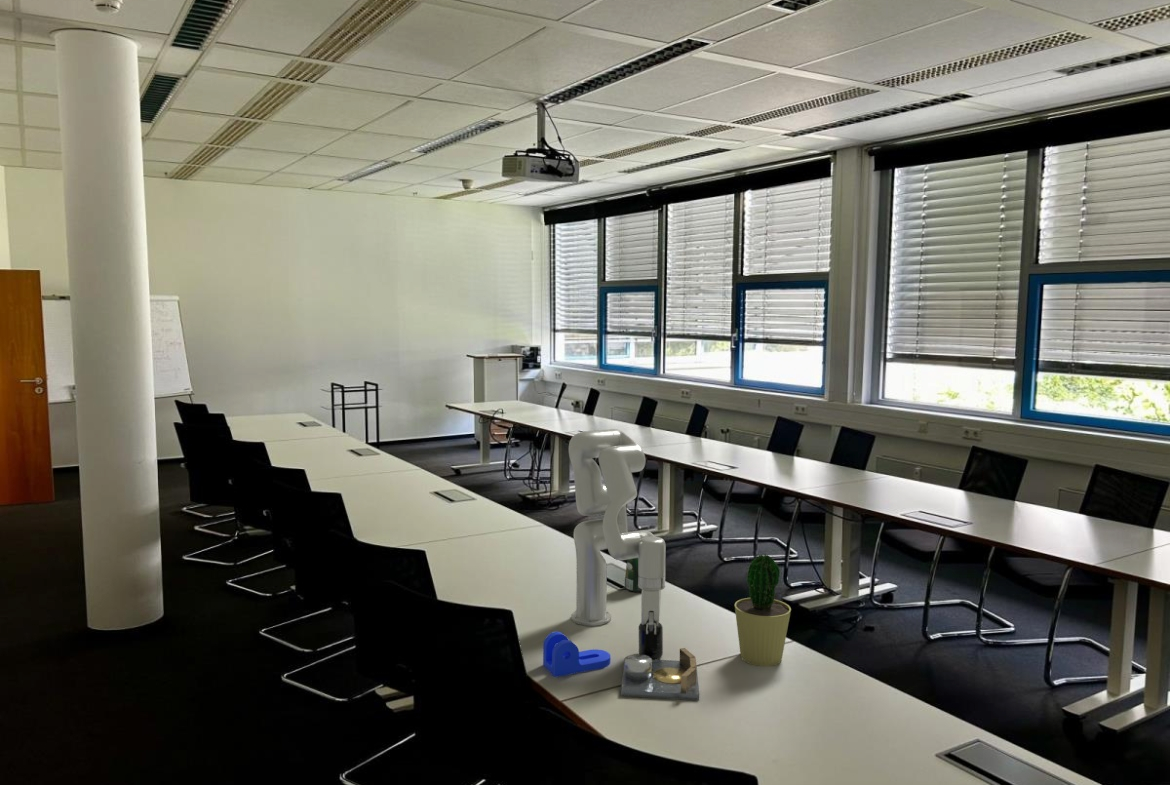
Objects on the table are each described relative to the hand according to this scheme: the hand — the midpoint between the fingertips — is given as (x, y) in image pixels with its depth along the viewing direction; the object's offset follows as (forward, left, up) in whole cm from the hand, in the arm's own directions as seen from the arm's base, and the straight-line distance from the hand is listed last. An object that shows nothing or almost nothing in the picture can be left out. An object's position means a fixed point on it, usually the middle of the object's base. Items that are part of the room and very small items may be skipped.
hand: (651, 641), depth 228 cm
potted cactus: (-2, +31, -5) cm, 31 cm away
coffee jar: (-57, -5, -5) cm, 58 cm away
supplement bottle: (0, 0, -5) cm, 5 cm away
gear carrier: (+16, +2, -4) cm, 16 cm away
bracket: (+8, -19, -5) cm, 22 cm away
